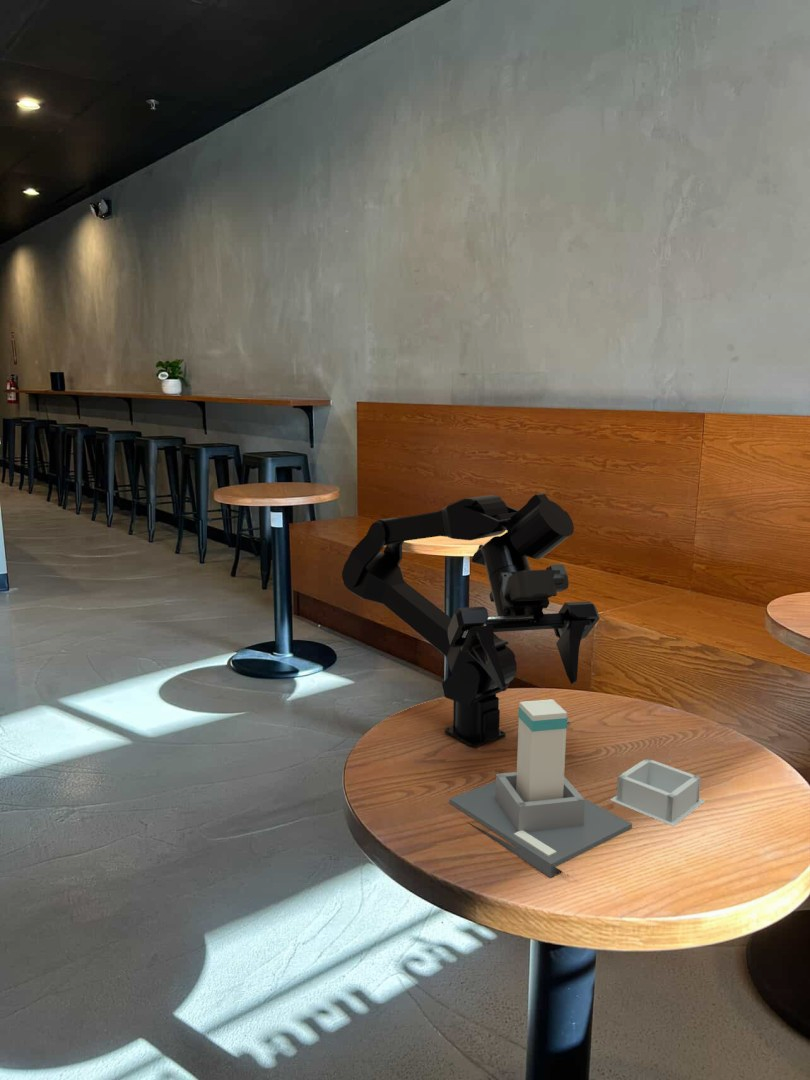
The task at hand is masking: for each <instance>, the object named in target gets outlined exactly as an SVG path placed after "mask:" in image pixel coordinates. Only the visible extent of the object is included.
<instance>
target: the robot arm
mask: <svg viewBox="0 0 810 1080" xmlns="http://www.w3.org/2000/svg"><path fill="white" fill-rule="evenodd" d="M574 530H575V526H574V522H573V520H572V518H571V516H570V514H569V513H568V512H567V510H564V509H563V507H561V506H560V505H559V504H557V503H556V502H554V501H553V500H550V499H549V498H548V496H547V495H546V493H538V494H537V493H536V494H534V495H533V496H532V497H531V498H530V499H528V501H527V503H526V504H525V505H523V506H522V507H521V508H520V509H516V508H513V507H511V506H509V505H507V504H506V503H505V500H503V499H502V498H501V496H499V495H497V494H496V495H495V494H491V495H490V494H488V495H481V496H473V497H466V498H462V499H460V500H457V501H455V502H453V503H450V504H448V505H446V506H445V507H443V508H442V509H439V510H437V511H433V512H427V513H419V514H415V515H409V516H404V517H389V518H383V519H377V520H375V521H374V522H372V523H371V525H370V526H369V529H368V531H367V533H366V535H365V536H364V537H363V538H362V539H361V540H360V541H359V542H357V544H356V545H355V546H354V548H353V549H352V550H351V551H350V552H349V556H348V558H347V560H346V561H345V563H344V565H343V569H342V571H341V578H342V581H343V585H344V586H345V588H346V589H347V590H348V591H349V592H350V593H352V594H354V595H356V596H357V597H359V598H361V599H362V600H364V601H365V600H366V601H370V602H373V603H377V604H381V605H383V606H384V607H386V608H387V609H388V610H389V611H391V612H392V613H393V615H396V617H398V618H399V619H400V620H401V621H402V622H404V623H405V624H406V625H408V627H410V628H411V629H412V630H414V631H415V633H417V634H418V635H419V636H421V637H422V638H423V639H424V640H426V641H427V642H428V643H429V644H431V645H432V646H433V647H434V648H435V649H437V651H439V652H440V653H442V655H443V656H445V658H446V661H447V665H448V667H449V671H450V673H451V675H449V676H448V677H447V678H446V679H445V680H444V681H443V682H442V683H441V684H442V685H441V687H442V689H443V693H444V698H446V699H448V700H451V701H453V708H452V709H453V711H452V714H453V715H452V725H451V726H447V727H445V728H444V733H446V734H447V735H449V736H451V737H453V738H455V739H456V740H459V741H461V742H462V743H464V744H466V745H468V746H470V747H474V748H475V747H478V746H481V745H484V744H487V743H490V742H493V741H496V740H499V739H502V738H505V737H506V736H507V735H506V732H505V731H503V730H501V729H500V719H501V718H500V715H501V713H500V712H501V711H500V709H499V706H500V704H499V703H500V698H499V696H498V697H497V694H499V693H501V692H506V691H507V689H508V687H509V684H510V682H512V681H513V680H514V678H515V677H516V674H517V669H518V668H517V660H516V654H515V653H514V651H513V649H511V648H510V647H509V646H507V645H509V641H506V640H503V639H502V638H500V637H499V636H497V634H495V633H502V632H518V631H519V632H520V631H522V632H523V631H536V630H537V631H538V630H553V631H554V634H555V636H556V637H557V638H558V639H557V641H556V643H555V645H556V647H557V651H558V653H559V655H560V659H561V662H562V665H563V669H564V671H565V674H566V677H567V679H568V681H569V683H570V684H571V685H576V682H577V681H578V669H579V654H580V645H581V641H582V640H583V639H585V638H587V637H588V635H589V634H590V633H591V631H592V629H593V628H594V627H595V625H596V624H597V623H598V622H599V620H600V619H601V617H600V615H599V611H598V609H597V607H596V605H595V604H594V603H592V602H590V601H574V602H573V601H572V602H571V601H570V602H566V601H565V602H564V603H563V605H562V606H561V608H560V609H559V611H558V612H556V613H544V611H543V609H547V608H548V607H549V605H550V600H549V598H552V597H557V596H558V593H560V592H563V591H565V590H567V589H568V588H569V585H570V582H569V576H568V575H569V574H568V572H567V570H566V568H565V565H564V564H551V565H549V566H548V567H546V568H545V569H534V570H533V569H531V566H530V562H529V559H528V558H531V559H534V560H541V559H542V558H543V557H545V556H546V555H547V554H549V553H550V552H551V551H552V550H554V549H555V548H556V547H558V546H559V545H560V544H561V543H563V542H564V541H565V540H567V539H568V538H569V537H570V536H571V535H573V534H574ZM499 535H500V536H499ZM435 537H437V538H438V537H444V538H445V537H446V538H449V539H453V540H461V541H462V540H463V541H474V540H480V539H485V538H489V537H492V538H490V539H489V540H488V541H486V543H485V544H479V546H478V548H477V550H476V551H475V552H474V554H473V556H472V558H471V562H472V563H474V564H478V565H481V566H485V569H486V574H487V578H488V581H489V586H490V590H491V592H490V593H489V596H488V597H489V599H490V602H491V603H493V602H494V605H495V610H496V614H497V616H489V612H488V609H487V608H486V607H485V606H471V607H458V608H457V609H456V610H455V611H454V613H453V615H452V617H451V616H449V615H448V614H447V613H445V612H444V611H443V610H442V609H441V608H439V607H438V606H436V605H435V604H434V603H433V602H432V601H430V600H429V599H427V597H425V596H424V595H423V594H421V593H420V592H419V591H418V590H416V589H415V588H413V586H411V585H410V584H409V583H408V582H406V581H405V579H404V576H403V571H402V569H401V567H400V566H399V565H400V564H401V562H402V559H403V544H404V543H405V542H407V541H415V540H421V539H429V538H435ZM384 546H385V548H384ZM383 548H384V551H382V550H383ZM557 592H558V593H557Z"/></svg>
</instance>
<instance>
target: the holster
mask: <svg viewBox="0 0 810 1080" xmlns="http://www.w3.org/2000/svg"><path fill="white" fill-rule="evenodd" d="M701 779H702V778H701V777H700V776H697V775H695V774H692V773H690V772H688V771H684V770H681V769H679V768H676V767H673V766H670V765H668V764H664V763H662V762H659V761H657V760H653V759H650V758H648V757H647V758H644V759H643V760H642V761H640V762H638V763H637V764H635V765H634V766H632V767H631V768H629V769H628V770H626V771H624V772H623V773H621V774H619V775H618V776H617V784H616V785H617V787H616V789H617V790H616V795H615V796H613V797H612V798H610V799H609V801H610V802H613V803H616V804H618V805H620V806H623V807H625V808H628V809H630V810H632V811H635V812H638V813H640V814H642V815H645V816H647V817H650V818H652V819H655V820H656V821H659V822H661V823H663V824H666V825H669V826H671V827H675V826H676V825H678V824H679V823H680V822H682V821H683V820H684V819H685V818H686V817H688V816H689V815H690V814H692V812H694V811H695V810H697V808H699V807H700V806H701V805H704V803H706V800H704V799H701V798H700V794H701V793H700V791H701Z"/></svg>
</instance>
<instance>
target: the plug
mask: <svg viewBox="0 0 810 1080" xmlns="http://www.w3.org/2000/svg"><path fill="white" fill-rule="evenodd" d="M518 704H519V706H518V712H517V714H518V731H517V754H516V755H517V756H516V772H517V781H516V792H517V794H518V795H519V796H520V798H521V799H522V800H523V802H532V801H541V800H551V799H560V798H563V789H564V777H565V765H566V746H567V745H566V744H567V729H568V724H567V722H568V712H567V711H566V710H565V709H564V708H562V706H561V705H559V704H558V702H556V701H555V700H554V699H553V698H552V699H550V698H549V699H541V700H528V701H519V703H518Z"/></svg>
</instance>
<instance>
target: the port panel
mask: <svg viewBox="0 0 810 1080" xmlns="http://www.w3.org/2000/svg"><path fill="white" fill-rule="evenodd" d="M516 781H517V771H512V772H504V773H502V772H501V773H496V775H495V781H491V782H489V783H487V784H484V785H481V786H479V787H477V788H473V789H471V790H469V791H466V792H463V793H461V794H457V795H455V796H453V797H450V798H449V800H448V803H449V804H450V805H452V806H453V807H455V808H456V809H458V810H460V811H461V812H462V813H464V814H465V815H467V816H469V817H470V818H471V819H473V820H475V821H476V822H477V823H479V824H481V825H482V826H484V827H485V828H487V829H488V830H490V831H491V832H493V833H495V834H496V835H498V836H499V837H501V838H502V839H501V838H499V837H497V836H495V835H493V834H491V833H489V832H487V831H485V830H483V829H482V828H480V827H477V826H476V825H473V824H472V823H470V822H468V821H466V823H467V824H469V825H470V826H471V827H474V828H475V829H476V830H478V831H479V832H480V833H482V834H483V835H485V836H487V837H489V838H490V839H492V840H493V841H494V842H496V843H497V844H499V845H501V846H502V847H504V848H505V849H507V850H508V851H509V852H510V853H513V854H514V855H516V856H517V857H518V858H520V859H522V860H524V861H525V862H526V863H528V864H529V865H530V866H532V867H534V868H535V869H537V870H538V871H539V872H541V873H543V874H544V875H545V876H547V877H548V878H552V877H554V876H557V875H559V874H560V873H563V870H562V869H559V868H557V866H560V865H562V864H565V863H566V862H567V861H570V860H572V859H574V858H575V857H578V856H579V855H581V854H584V853H586V852H587V851H590V850H592V849H594V848H596V847H598V846H600V845H601V844H604V843H606V842H607V841H609V840H612V839H613V838H615V837H618V836H619V835H621V834H624V833H625V832H627V831H629V830H631V829H633V823H631V822H629V821H628V820H626V819H624V818H622V817H620V816H618V815H616V813H613V812H611V811H609V810H607V809H605V808H604V807H602V806H599V805H597V804H595V803H594V802H592V801H590V800H589V799H586V798H585V797H583V795H581V793H580V792H579V791H578V790H577V788H575V787H574V785H573V784H571V782H570V781H569V780H568V779H567V778H566V776H564V789H563V798H560V799H551V800H541V801H532V802H523V800H522V799H521V798H520V796H519V795H518V794H517V792H516ZM503 839H504V840H503Z"/></svg>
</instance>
